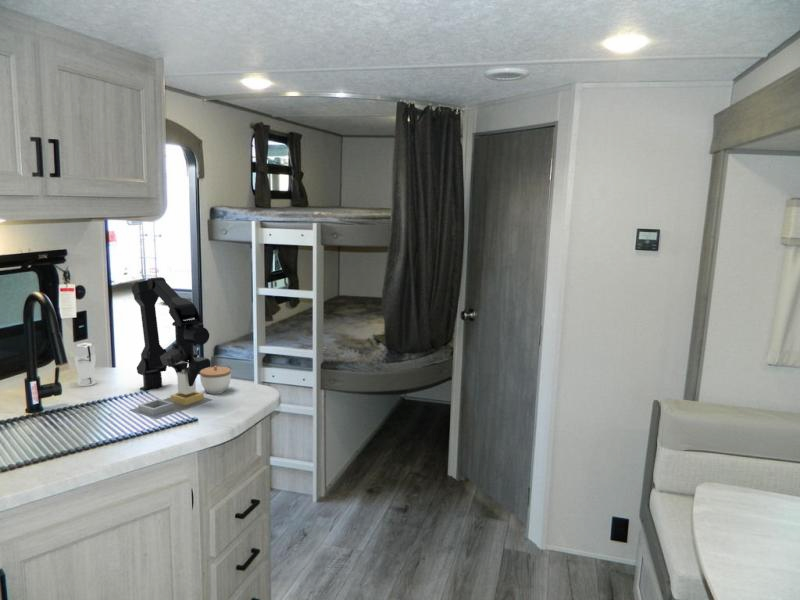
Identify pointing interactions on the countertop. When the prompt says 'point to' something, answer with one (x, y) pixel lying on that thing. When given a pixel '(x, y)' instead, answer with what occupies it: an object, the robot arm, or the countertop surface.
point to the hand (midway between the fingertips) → (186, 384)
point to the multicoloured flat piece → (170, 404)
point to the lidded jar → (215, 379)
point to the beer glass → (85, 363)
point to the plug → (184, 383)
